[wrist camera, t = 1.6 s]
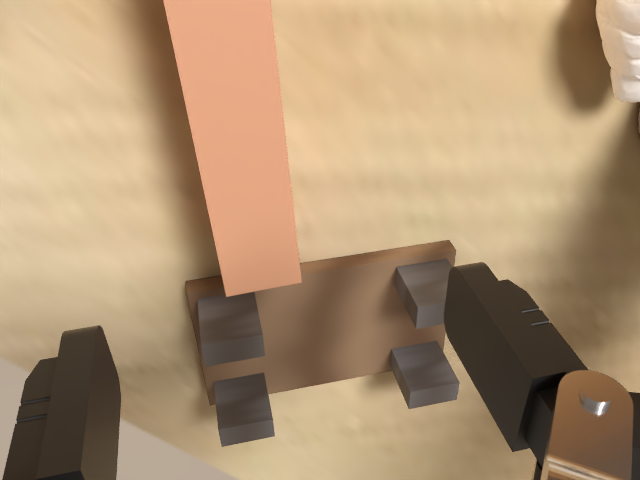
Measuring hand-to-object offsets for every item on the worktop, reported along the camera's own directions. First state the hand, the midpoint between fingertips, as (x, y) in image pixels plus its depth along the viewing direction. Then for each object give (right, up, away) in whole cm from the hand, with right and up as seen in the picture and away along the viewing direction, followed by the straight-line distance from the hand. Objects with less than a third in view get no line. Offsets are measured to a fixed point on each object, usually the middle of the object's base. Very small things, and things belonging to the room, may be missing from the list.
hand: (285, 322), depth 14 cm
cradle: (+1, -3, +22) cm, 22 cm away
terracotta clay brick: (-3, +9, +13) cm, 16 cm away
